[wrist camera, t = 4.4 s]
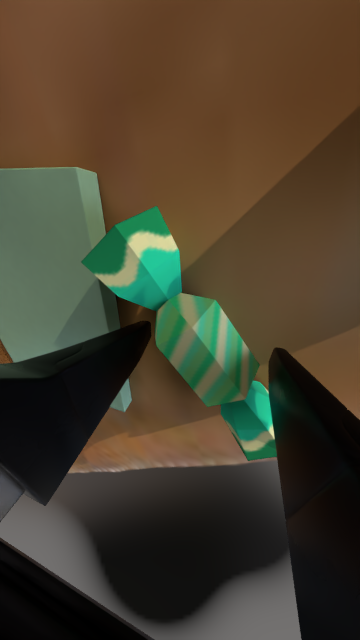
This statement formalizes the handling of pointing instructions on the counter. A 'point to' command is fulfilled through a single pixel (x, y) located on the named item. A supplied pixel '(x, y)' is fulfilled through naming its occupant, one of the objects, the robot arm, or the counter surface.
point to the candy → (187, 327)
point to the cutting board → (52, 264)
